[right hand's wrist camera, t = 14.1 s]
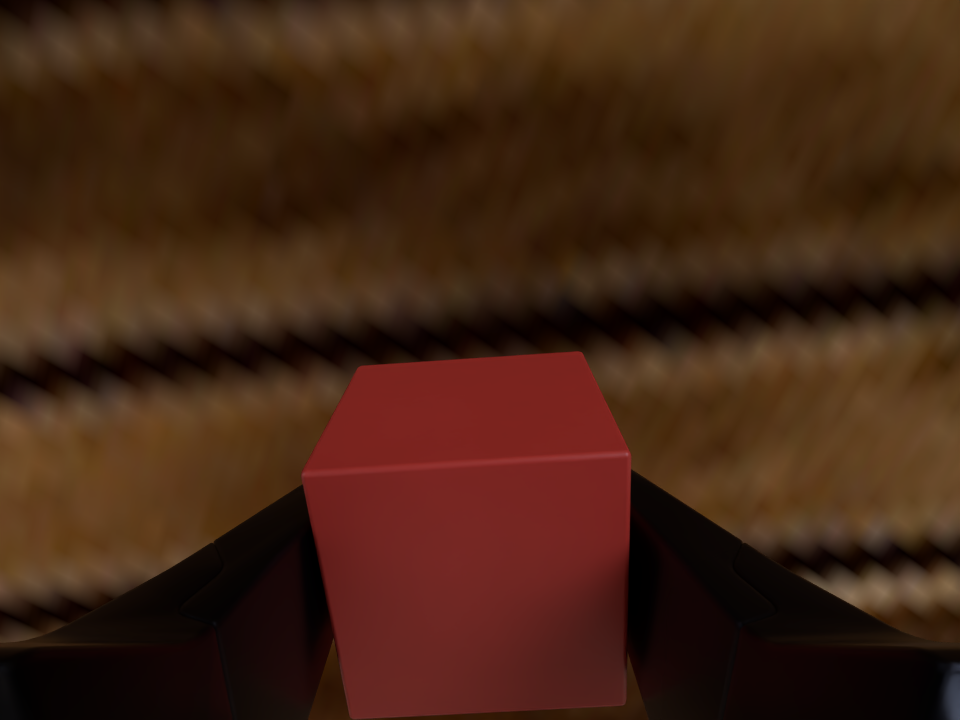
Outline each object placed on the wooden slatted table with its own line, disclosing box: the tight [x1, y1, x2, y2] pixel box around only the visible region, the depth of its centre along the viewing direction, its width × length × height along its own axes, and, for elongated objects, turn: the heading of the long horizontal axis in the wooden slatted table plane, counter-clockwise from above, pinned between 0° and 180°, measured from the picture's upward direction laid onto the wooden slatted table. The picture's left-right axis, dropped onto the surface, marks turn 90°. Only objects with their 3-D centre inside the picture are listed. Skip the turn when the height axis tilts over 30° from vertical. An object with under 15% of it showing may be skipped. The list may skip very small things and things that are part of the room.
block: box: [301, 351, 631, 719], centre depth 10 cm, size 4×4×4 cm
